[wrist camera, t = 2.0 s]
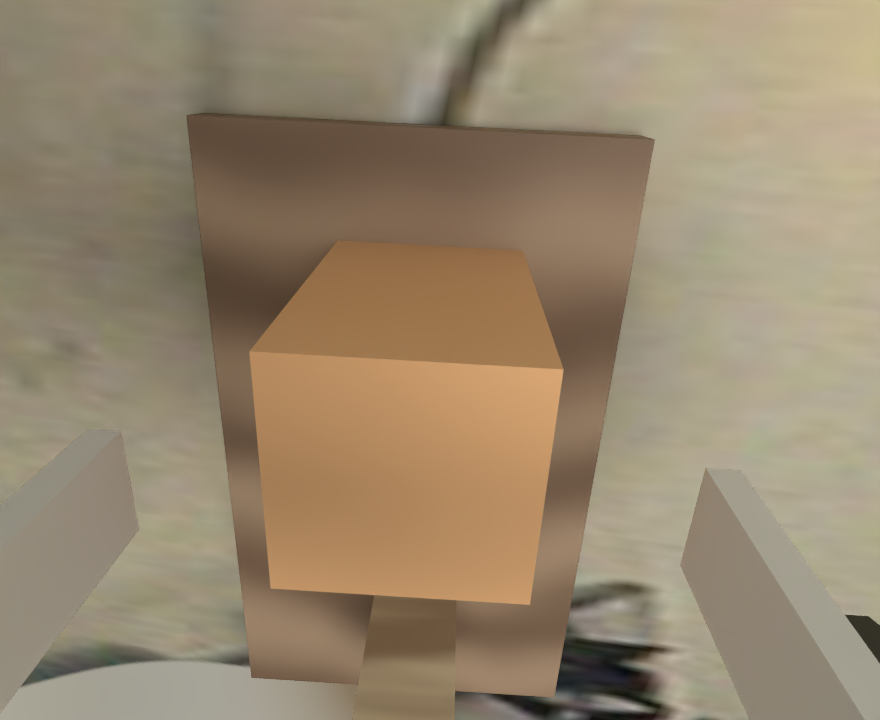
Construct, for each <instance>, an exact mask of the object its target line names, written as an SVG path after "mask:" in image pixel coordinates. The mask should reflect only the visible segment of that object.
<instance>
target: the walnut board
mask: <svg viewBox="0 0 880 720" xmlns="http://www.w3.org/2000/svg"><path fill="white" fill-rule="evenodd" d="M186 116H187V124H188V133H189V142H190V150H191V159H192V168H193V176H194V185H195V193H196V202H197V211H198V219H199V228H200V237H201V245H202V254H203V262H204V271H205V280H206V288H207V297H208V306H209V314H210V323H211V331H212V340H213V349H214V357H215V366H216V375H217V383H218V392H219V400H220V409H221V418H222V426H223V435H224V444H225V452H226V461H227V470H228V478H229V487H230V495H231V504H232V513H233V521H234V530H235V539H236V547H237V556H238V564H239V573H240V582H241V590H242V599H243V608H244V616H245V625H246V633H247V642H248V651H249V659H250V668H251V677H252V678H265V679H280V680H296V681H311V682H312V681H313V682H326V683H342V684H357V685H358V684H359V678H360V672H361V667H362V661H363V655H364V650H365V644H366V638H367V633H368V627H369V621H370V616H371V610H372V604H373V599H374V595H365V594H349V593H333V592H317V591H301V590H285V589H271V588H270V576H269V565H268V554H267V543H266V532H265V521H264V510H263V499H262V487H261V476H260V465H259V454H258V443H257V432H256V421H255V409H254V398H253V387H252V376H251V365H250V354H249V351H250V350H251V349H252V347H253V346H254V345H255V344H256V342H257V341H258V340H259V339H260V337H261V336H262V335H263V334H264V332H265V331H266V330H267V329H268V327H269V326H270V325H271V324H272V322H273V321H274V320H275V319H276V317H277V316H278V315H279V314H280V312H281V311H282V310H283V309H284V307H285V306H286V305H287V304H288V302H289V301H290V300H291V299H292V297H293V296H294V295H295V294H296V292H297V291H298V290H299V288H300V287H301V286H302V285H303V283H304V282H305V281H306V280H307V278H308V277H309V276H310V275H311V273H312V272H313V271H314V270H315V268H316V267H317V266H318V265H319V263H320V262H321V261H322V260H323V258H324V257H325V256H326V255H327V253H328V252H329V251H330V250H331V248H332V247H333V246H334V245H335V243H336V242H337V241H338V240H339V241H357V242H375V243H394V244H412V245H430V246H449V247H467V248H485V249H503V250H522V251H523V252H524V255H525V258H526V261H527V264H528V267H529V270H530V273H531V276H532V279H533V282H534V285H535V287H536V290H537V293H538V296H539V299H540V302H541V305H542V308H543V311H544V314H545V317H546V320H547V322H548V325H549V328H550V331H551V334H552V337H553V340H554V343H555V346H556V349H557V352H558V355H559V357H560V360H561V363H562V366H563V369H564V370H563V377H562V384H561V391H560V398H559V405H558V412H557V419H556V426H555V433H554V440H553V447H552V454H551V461H550V468H549V475H548V482H547V489H546V496H545V503H544V510H543V517H542V524H541V531H540V538H539V545H538V552H537V559H536V566H535V573H534V580H533V587H532V593H531V600H530V605H524V604H508V603H492V602H476V601H460V600H456V654H455V691H465V692H480V693H495V694H511V695H526V696H542V697H554V695H555V689H556V683H557V678H558V672H559V667H560V661H561V656H562V650H563V645H564V639H565V634H566V628H567V622H568V617H569V611H570V606H571V600H572V595H573V589H574V584H575V578H576V573H577V567H578V562H579V556H580V550H581V545H582V539H583V534H584V528H585V523H586V517H587V512H588V506H589V501H590V495H591V489H592V484H593V478H594V473H595V467H596V462H597V456H598V451H599V445H600V440H601V434H602V428H603V423H604V417H605V412H606V406H607V401H608V395H609V390H610V384H611V379H612V373H613V368H614V362H615V356H616V351H617V345H618V340H619V334H620V329H621V323H622V318H623V312H624V307H625V301H626V295H627V290H628V284H629V279H630V273H631V268H632V262H633V257H634V251H635V246H636V240H637V234H638V229H639V223H640V218H641V212H642V207H643V201H644V196H645V190H646V185H647V179H648V174H649V168H650V162H651V157H652V151H653V146H654V139H651V138H648V137H644V136H635V135H616V134H597V133H578V132H558V131H539V130H520V129H501V128H482V127H462V126H443V125H424V124H405V123H385V122H366V121H347V120H328V119H308V118H289V117H270V116H251V115H231V114H212V113H201V114H193V115H186Z"/></svg>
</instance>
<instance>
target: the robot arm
mask: <svg viewBox="0 0 880 720" xmlns="http://www.w3.org/2000/svg"><path fill="white" fill-rule="evenodd" d="M138 530H139V526H138V521H137V516H136V510H135V505H134V499H133V494H132V489H131V483H130V478H129V472H128V467H127V462H126V456H125V451H124V446H123V440H122V435H121V431H111V430H95V429H87V430H86V431H85V432H83V433H82V434H81V435H80V436H79V437H78V438H77V439H76V440H74V441H73V442H72V443H71V444H70V445H69V446H68V447H66V448H65V449H64V450H63V451H62V452H61V453H60V454H59V455H57V456H56V457H55V458H54V459H53V460H52V461H51V462H49V463H48V464H47V465H46V466H45V467H44V468H43V469H42V470H40V471H39V472H38V473H37V474H36V475H35V476H34V477H33V478H31V479H30V480H29V481H28V482H27V483H26V484H25V485H23V486H22V487H21V488H20V489H19V490H18V491H17V492H16V493H14V494H13V495H12V496H11V497H10V498H9V499H8V500H6V501H5V502H4V503H3V504H2V505H1V506H0V713H1V712H2V710H3V709H4V708H5V706H6V705H7V703H9V701H10V700H11V698H12V697H13V696H14V695H15V693H16V692H17V690H18V689H19V688H20V687H21V685H22V684H23V683H24V681H25V680H26V679H27V677H28V676H29V675H30V673H31V672H32V671H33V669H34V668H35V667H36V665H37V664H38V663H39V661H40V660H41V659H42V657H43V656H44V655H45V653H46V652H47V651H48V649H49V648H50V647H51V645H52V644H53V643H54V641H55V640H56V639H57V638H58V636H59V635H60V634H61V632H62V631H63V630H64V628H65V627H66V626H67V624H68V623H69V622H70V620H71V619H72V618H73V616H74V615H75V614H76V612H77V611H78V610H79V608H80V607H81V606H82V604H83V603H84V602H85V600H86V599H87V598H88V596H89V595H90V594H91V592H92V591H93V590H94V588H95V587H96V586H97V584H98V583H99V582H100V580H101V579H102V578H103V576H104V575H105V574H106V572H107V571H108V570H109V569H110V567H111V566H112V565H113V563H114V562H115V561H116V559H117V558H118V557H119V555H120V554H121V553H122V551H123V550H124V549H125V547H126V546H127V545H128V543H129V542H130V541H131V539H132V538H133V537H134V535H135V534H136V533H137V531H138ZM681 568H682V570H683V572H684V574H685V577H686V579H687V581H688V583H689V586H690V588H691V590H692V592H693V594H694V597H695V599H696V601H697V603H698V606H699V608H700V610H701V612H702V615H703V617H704V619H705V621H706V623H707V626H708V628H709V630H710V632H711V635H712V637H713V639H714V641H715V644H716V646H717V648H718V650H719V652H720V655H721V657H722V659H723V661H724V664H725V666H726V668H727V670H728V673H729V675H730V677H731V679H732V682H733V684H734V686H735V688H736V690H737V693H738V695H739V697H740V699H741V702H742V704H743V706H744V708H745V711H746V713H747V715H748V717H749V719H750V720H880V625H878V624H877V623H876V622H875V621H873V620H872V619H871V618H870V617H869V616H855V615H844V613H843V612H842V610H841V609H840V608H839V606H838V605H837V604H836V602H835V601H834V599H833V598H832V597H831V595H830V594H829V592H828V591H827V590H826V588H825V587H824V585H823V584H822V583H821V581H820V580H819V578H818V577H817V576H816V574H815V573H814V572H813V570H812V569H811V567H810V566H809V565H808V563H807V562H806V560H805V559H804V558H803V556H802V555H801V553H800V552H799V551H798V549H797V548H796V547H795V545H794V544H793V542H792V541H791V540H790V538H789V537H788V535H787V534H786V533H785V531H784V530H783V528H782V527H781V526H780V524H779V523H778V522H777V520H776V519H775V517H774V516H773V515H772V513H771V512H770V510H769V509H768V508H767V506H766V505H765V503H764V502H763V501H762V499H761V498H760V497H759V495H758V494H757V492H756V491H755V490H754V488H753V487H752V485H751V484H750V483H749V481H748V480H747V478H746V477H745V476H744V474H743V473H742V472H741V470H730V469H714V468H706V469H705V472H704V476H703V480H702V484H701V488H700V492H699V495H698V499H697V503H696V507H695V511H694V515H693V519H692V522H691V526H690V530H689V534H688V538H687V542H686V545H685V549H684V553H683V557H682V561H681Z"/></svg>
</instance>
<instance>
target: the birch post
mask: <svg viewBox="0 0 880 720" xmlns="http://www.w3.org/2000/svg"><path fill="white" fill-rule="evenodd" d="M455 654H456V600H444V599H428V598H412V597H397V596H381V595H374V599H373V604H372V610H371V616H370V621H369V627H368V633H367V638H366V644H365V650H364V655H363V661H362V667H361V672H360V678H359V684H358V689H357V695H356V701H355V706H354V712H353V718H352V720H454V715H455Z"/></svg>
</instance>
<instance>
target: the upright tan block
mask: <svg viewBox="0 0 880 720" xmlns="http://www.w3.org/2000/svg"><path fill="white" fill-rule="evenodd" d="M249 354H250V365H251V376H252V387H253V398H254V409H255V421H256V432H257V443H258V454H259V465H260V476H261V487H262V499H263V510H264V521H265V532H266V543H267V554H268V565H269V576H270V588H271V589H285V590H301V591H317V592H333V593H349V594H365V595H381V596H397V597H412V598H428V599H444V600H460V601H476V602H492V603H508V604H524V605H530V600H531V593H532V587H533V580H534V573H535V566H536V559H537V552H538V545H539V538H540V531H541V524H542V517H543V510H544V503H545V496H546V489H547V482H548V475H549V468H550V461H551V454H552V447H553V440H554V433H555V426H556V419H557V412H558V405H559V398H560V391H561V384H562V377H563V370H564V369H563V366H562V363H561V360H560V357H559V355H558V352H557V349H556V346H555V343H554V340H553V337H552V334H551V331H550V328H549V325H548V322H547V320H546V317H545V314H544V311H543V308H542V305H541V302H540V299H539V296H538V293H537V290H536V287H535V285H534V282H533V279H532V276H531V273H530V270H529V267H528V264H527V261H526V258H525V255H524V252H523V251H522V250H503V249H485V248H467V247H449V246H430V245H412V244H394V243H375V242H357V241H339V240H338V241H337V242H336V243H335V245H334V246H333V247H332V248H331V250H330V251H329V252H328V253H327V255H326V256H325V257H324V258H323V260H322V261H321V262H320V263H319V265H318V266H317V267H316V268H315V270H314V271H313V272H312V273H311V275H310V276H309V277H308V278H307V280H306V281H305V282H304V283H303V285H302V286H301V287H300V288H299V290H298V291H297V292H296V294H295V295H294V296H293V297H292V299H291V300H290V301H289V302H288V304H287V305H286V306H285V307H284V309H283V310H282V311H281V312H280V314H279V315H278V316H277V317H276V319H275V320H274V321H273V322H272V324H271V325H270V326H269V327H268V329H267V330H266V331H265V332H264V334H263V335H262V336H261V337H260V339H259V340H258V341H257V342H256V344H255V345H254V346H253V347H252V349H251V350H250V351H249Z"/></svg>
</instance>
